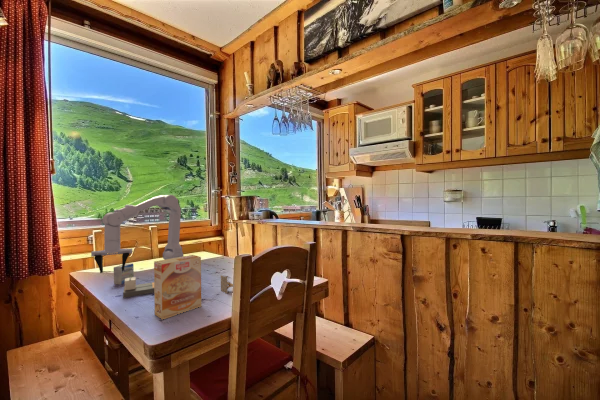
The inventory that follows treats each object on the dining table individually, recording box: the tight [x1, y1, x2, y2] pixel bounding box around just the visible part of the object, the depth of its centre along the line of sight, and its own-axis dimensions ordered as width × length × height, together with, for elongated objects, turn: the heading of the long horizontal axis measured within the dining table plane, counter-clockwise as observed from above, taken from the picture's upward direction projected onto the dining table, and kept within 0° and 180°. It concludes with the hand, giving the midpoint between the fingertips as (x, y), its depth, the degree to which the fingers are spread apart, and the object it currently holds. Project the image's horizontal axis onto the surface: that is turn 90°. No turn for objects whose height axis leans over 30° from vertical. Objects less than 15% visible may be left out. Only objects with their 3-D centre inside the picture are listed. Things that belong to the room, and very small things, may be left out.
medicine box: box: [113, 262, 135, 285], centre depth 137 cm, size 8×4×9 cm, turn 168°
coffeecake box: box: [153, 254, 202, 320], centre depth 101 cm, size 15×7×20 cm, turn 139°
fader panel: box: [122, 281, 154, 298], centre depth 123 cm, size 15×10×2 cm, turn 120°
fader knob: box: [124, 276, 137, 290], centre depth 120 cm, size 4×5×4 cm
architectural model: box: [220, 275, 234, 294], centre depth 121 cm, size 3×7×7 cm, turn 44°
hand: (112, 271), depth 117 cm, fingers open, 7 cm apart
